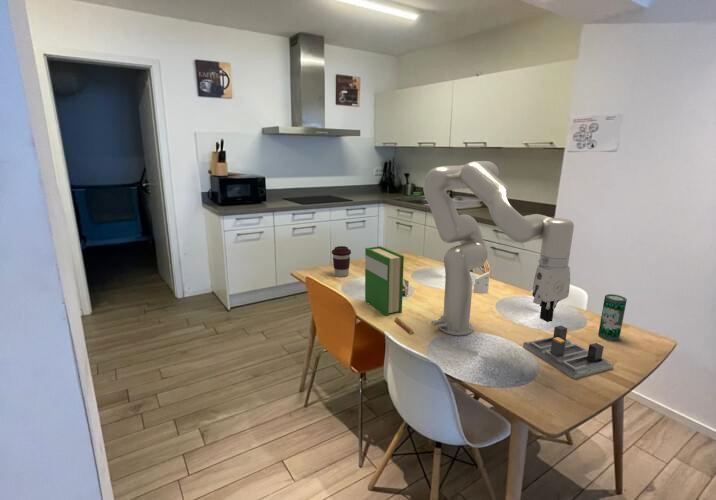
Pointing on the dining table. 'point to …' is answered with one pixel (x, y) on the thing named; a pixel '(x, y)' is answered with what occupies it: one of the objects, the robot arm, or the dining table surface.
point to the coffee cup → (341, 261)
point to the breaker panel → (570, 355)
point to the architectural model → (405, 287)
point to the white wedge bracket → (482, 283)
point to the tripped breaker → (557, 346)
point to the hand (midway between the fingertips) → (545, 319)
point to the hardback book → (384, 279)
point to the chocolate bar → (403, 326)
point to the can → (612, 317)
